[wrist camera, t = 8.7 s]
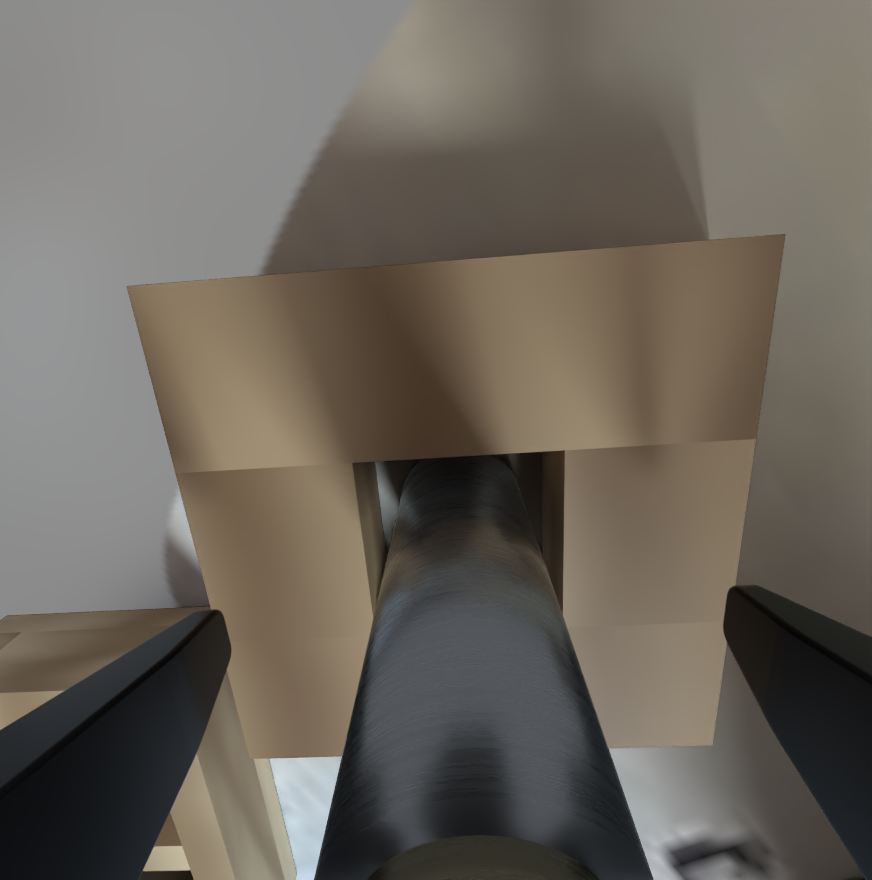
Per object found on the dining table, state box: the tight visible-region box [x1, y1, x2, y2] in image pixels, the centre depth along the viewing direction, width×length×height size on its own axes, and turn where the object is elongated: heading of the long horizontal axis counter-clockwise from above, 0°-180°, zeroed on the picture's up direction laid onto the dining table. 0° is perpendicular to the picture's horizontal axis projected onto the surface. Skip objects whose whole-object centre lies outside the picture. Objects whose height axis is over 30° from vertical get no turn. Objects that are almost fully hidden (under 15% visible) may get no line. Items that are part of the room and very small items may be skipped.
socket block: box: [127, 234, 785, 759], centre depth 12 cm, size 12×12×2 cm
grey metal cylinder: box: [314, 454, 653, 880], centre depth 8 cm, size 3×3×10 cm
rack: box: [0, 606, 297, 880], centre depth 13 cm, size 7×12×7 cm, turn 4°
